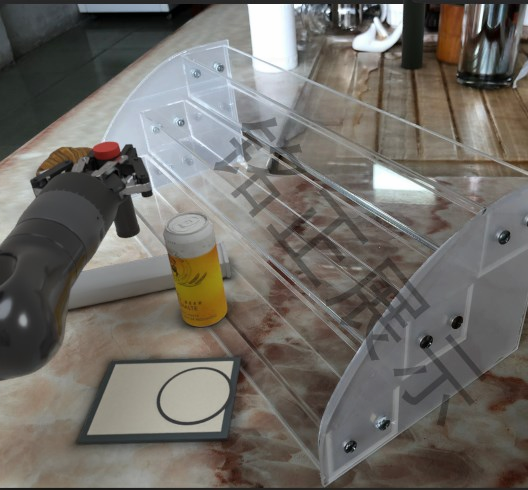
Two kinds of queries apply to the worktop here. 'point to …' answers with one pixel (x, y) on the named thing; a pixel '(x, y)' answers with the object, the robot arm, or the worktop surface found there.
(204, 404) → the drawing board
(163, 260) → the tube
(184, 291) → the beer can
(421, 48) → the wine bottle
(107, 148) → the marker
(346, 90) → the worktop surface
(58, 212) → the robot arm
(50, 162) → the croissant
